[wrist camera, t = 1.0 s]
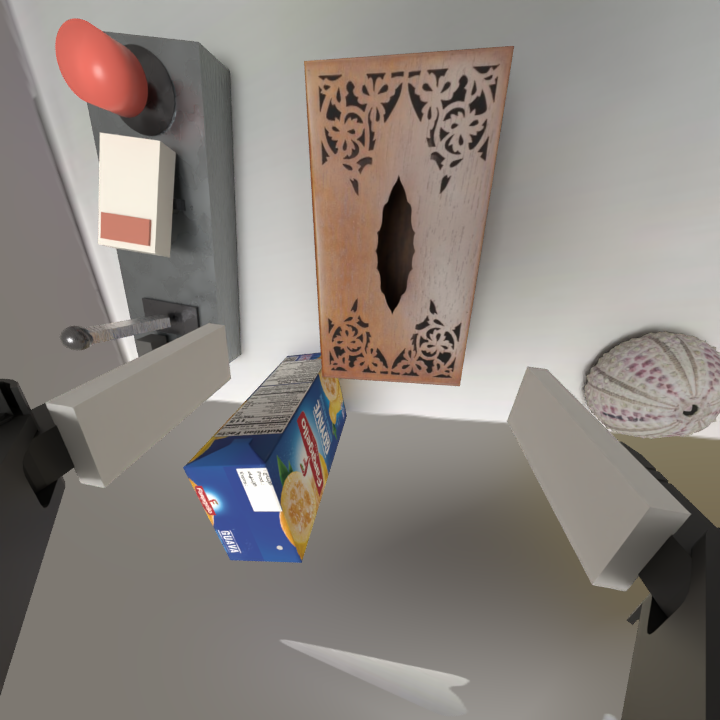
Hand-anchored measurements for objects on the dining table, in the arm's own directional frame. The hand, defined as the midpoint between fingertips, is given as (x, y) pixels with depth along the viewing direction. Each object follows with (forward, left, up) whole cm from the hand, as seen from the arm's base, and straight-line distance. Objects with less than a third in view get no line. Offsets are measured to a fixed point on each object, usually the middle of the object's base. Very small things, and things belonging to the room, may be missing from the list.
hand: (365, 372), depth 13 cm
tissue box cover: (-4, 0, -26) cm, 26 cm away
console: (-2, -26, -26) cm, 36 cm away
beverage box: (+17, -8, -26) cm, 32 cm away
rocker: (-5, -26, -18) cm, 32 cm away
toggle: (+8, -26, -19) cm, 33 cm away
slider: (+12, -28, -20) cm, 36 cm away
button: (-14, -26, -18) cm, 35 cm away
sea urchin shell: (+7, +32, -26) cm, 42 cm away
